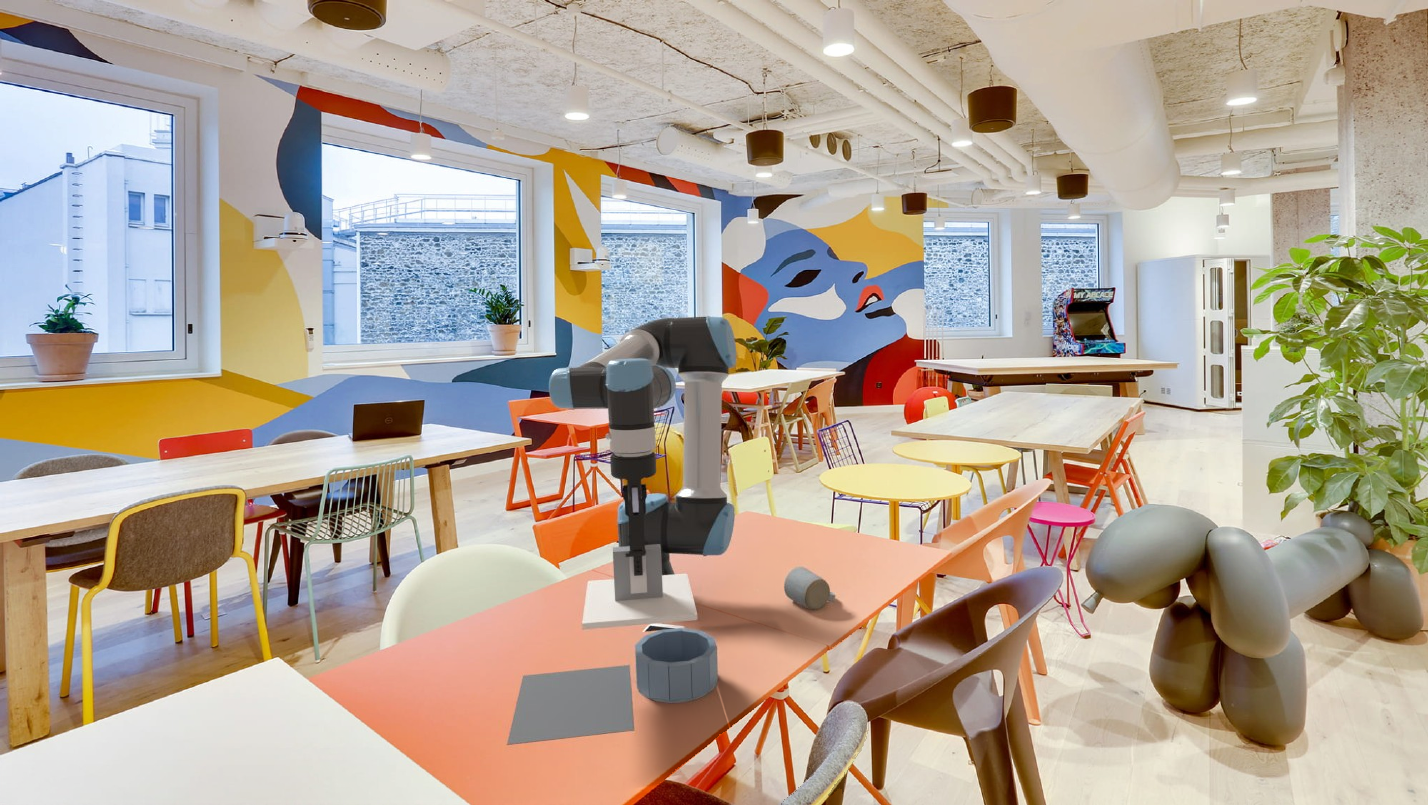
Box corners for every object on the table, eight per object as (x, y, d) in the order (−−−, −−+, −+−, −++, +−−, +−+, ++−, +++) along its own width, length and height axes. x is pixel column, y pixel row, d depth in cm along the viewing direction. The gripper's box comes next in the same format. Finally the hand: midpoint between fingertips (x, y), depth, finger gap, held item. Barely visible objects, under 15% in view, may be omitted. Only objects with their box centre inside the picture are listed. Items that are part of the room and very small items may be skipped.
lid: (588, 586, 126) (585, 535, 125) (687, 578, 128) (685, 528, 127) (582, 629, 108) (579, 570, 107) (697, 620, 111) (695, 562, 110)
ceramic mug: (806, 615, 149) (806, 580, 148) (783, 602, 156) (783, 569, 155) (843, 604, 154) (844, 571, 154) (819, 593, 161) (820, 560, 161)
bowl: (635, 668, 128) (633, 632, 127) (710, 661, 130) (709, 625, 129) (638, 710, 114) (637, 669, 113) (723, 700, 116) (721, 661, 115)
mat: (523, 678, 125) (523, 675, 125) (629, 668, 128) (629, 665, 128) (507, 748, 105) (506, 744, 105) (634, 733, 107) (634, 730, 107)
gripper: (610, 445, 122) (616, 574, 125) (609, 462, 107) (616, 609, 110) (653, 443, 123) (658, 570, 126) (657, 460, 108) (663, 605, 111)
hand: (638, 588), depth 118 cm, fingers closed on lid, 2 cm apart
